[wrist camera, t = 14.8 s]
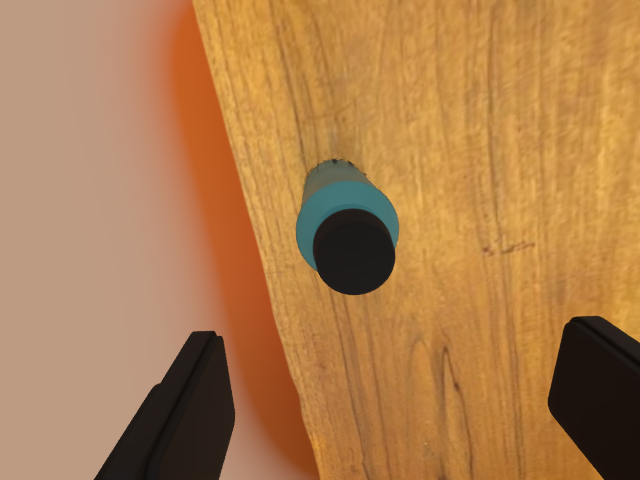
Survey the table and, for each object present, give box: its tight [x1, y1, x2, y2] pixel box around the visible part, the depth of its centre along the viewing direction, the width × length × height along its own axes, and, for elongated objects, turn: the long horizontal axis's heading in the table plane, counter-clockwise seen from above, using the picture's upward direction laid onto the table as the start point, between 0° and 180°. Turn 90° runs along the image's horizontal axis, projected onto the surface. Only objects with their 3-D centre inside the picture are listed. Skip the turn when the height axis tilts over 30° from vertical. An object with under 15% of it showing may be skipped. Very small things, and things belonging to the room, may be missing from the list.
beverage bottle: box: [296, 158, 399, 295], centre depth 25 cm, size 6×7×20 cm
